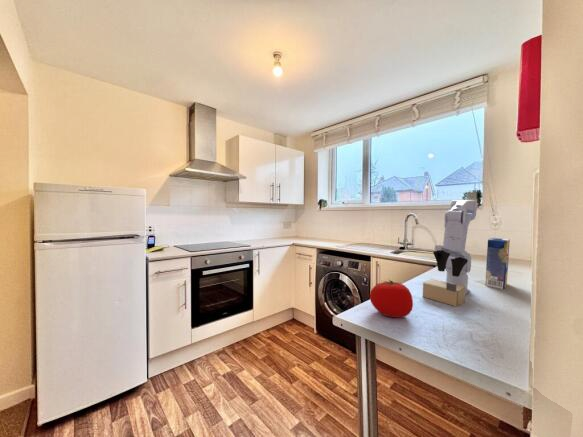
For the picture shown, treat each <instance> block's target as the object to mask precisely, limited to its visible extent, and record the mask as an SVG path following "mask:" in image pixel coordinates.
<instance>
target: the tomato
mask: <svg viewBox="0 0 583 437" xmlns="http://www.w3.org/2000/svg"><path fill="white" fill-rule="evenodd" d="M369 301H370V303H371V305H372V306H373V308H374V309H375V310H376V311H377V312H378V313H380V314H382V315H383V316H388V317H390V318H391V317H392V318H405V317H406V316H408V315H410V313H411V312H412V310H413V307H414V303H413V302H414V301H413V296H412V292H411V291H410V289H409V288H408V287H407V286H406V285H404V284H402V283H401V282H394V281H393V280H390V279H388V281H386V280H383V281H382V282H380V283H378V284H376V285H375V286H374V287H373V288H372V289H371V290H370V293H369Z"/></svg>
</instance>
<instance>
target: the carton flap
mask: <svg viewBox="0 0 583 437" xmlns="http://www.w3.org/2000/svg"><path fill="white" fill-rule="evenodd" d="M456 286H457V284H453V283H449V282H447V286H446V288H443V287H439V286H435V285H431V284H427V283H423V282H422V298H427V299H430V300H433V301H437V302H440V303H443V304H447V305H450V306H454V307H457V306H456V303H457V291H456Z"/></svg>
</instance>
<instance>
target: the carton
mask: <svg viewBox="0 0 583 437" xmlns="http://www.w3.org/2000/svg"><path fill="white" fill-rule="evenodd" d="M423 283H427V284H431V285H435V286H439V287H443V288H446V286H447V282H446V281H443V280H438V279H434V278H430V279H427V280H426V281H424V282H422V284H423ZM456 291H457V303H456V306H455V307H459V306H460V305H462V304H463V303H464V302H466V294H465V286H461V285H457V286H456Z"/></svg>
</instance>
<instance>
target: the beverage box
mask: <svg viewBox="0 0 583 437" xmlns="http://www.w3.org/2000/svg"><path fill="white" fill-rule="evenodd" d="M510 240H511V239H510V238H495V237H491V238H489V239H487V250H486V251H487V252H486V266H485V267H486V268H485V269H486V270H485V283H484V286H486V287H492V288H496V289H502V290H505V289H506V287H507V284H508V272H509V257H510Z"/></svg>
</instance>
